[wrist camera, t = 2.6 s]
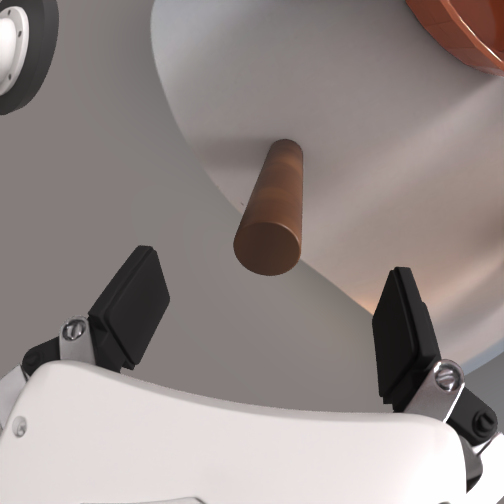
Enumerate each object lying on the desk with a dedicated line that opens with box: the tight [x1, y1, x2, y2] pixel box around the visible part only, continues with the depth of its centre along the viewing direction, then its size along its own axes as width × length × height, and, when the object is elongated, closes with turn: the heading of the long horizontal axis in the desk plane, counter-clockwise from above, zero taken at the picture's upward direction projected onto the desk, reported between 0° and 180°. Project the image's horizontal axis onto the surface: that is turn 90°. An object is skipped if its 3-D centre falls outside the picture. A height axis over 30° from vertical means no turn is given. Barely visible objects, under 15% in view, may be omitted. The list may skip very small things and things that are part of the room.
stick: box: [233, 139, 303, 276], centre depth 18 cm, size 3×3×14 cm
